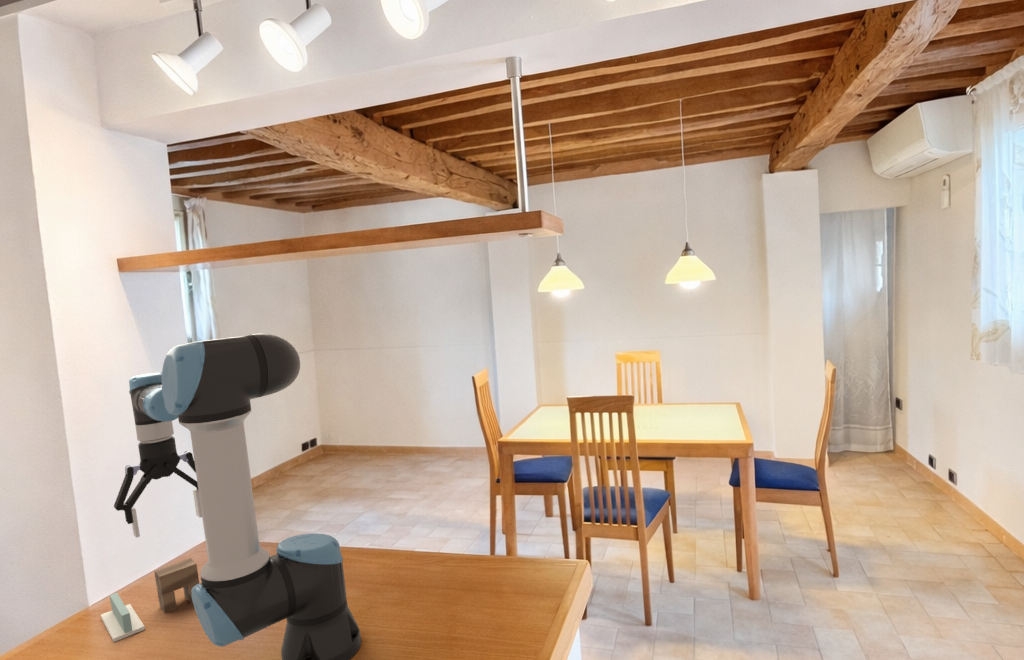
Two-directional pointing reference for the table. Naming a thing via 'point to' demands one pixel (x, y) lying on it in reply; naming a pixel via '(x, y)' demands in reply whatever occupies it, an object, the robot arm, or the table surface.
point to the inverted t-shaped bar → (121, 619)
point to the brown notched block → (175, 582)
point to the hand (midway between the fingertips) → (169, 525)
